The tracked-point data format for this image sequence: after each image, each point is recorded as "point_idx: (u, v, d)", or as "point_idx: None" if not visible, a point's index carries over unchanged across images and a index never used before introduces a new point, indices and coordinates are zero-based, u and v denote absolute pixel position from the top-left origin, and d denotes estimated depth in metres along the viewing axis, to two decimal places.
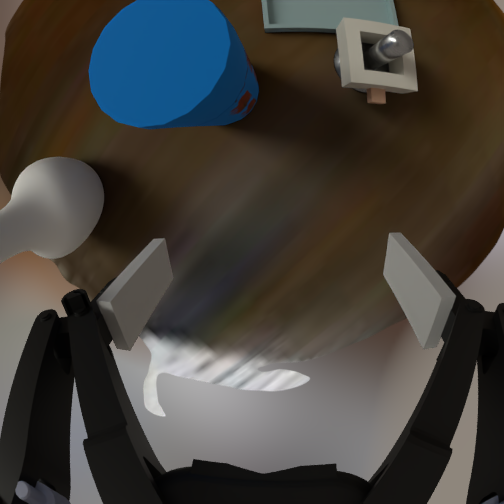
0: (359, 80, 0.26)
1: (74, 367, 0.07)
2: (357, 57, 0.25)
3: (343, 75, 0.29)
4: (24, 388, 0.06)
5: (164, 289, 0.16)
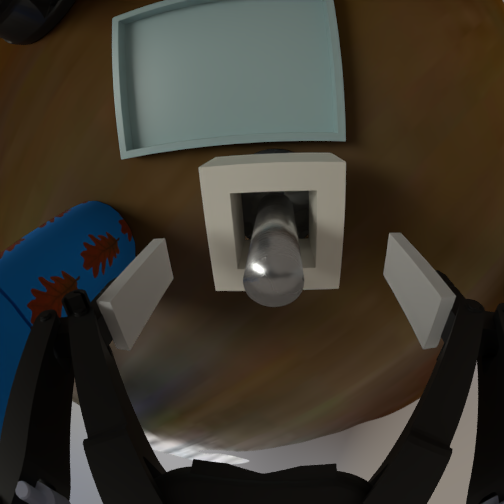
0: (229, 287, 0.20)
1: (74, 367, 0.07)
2: (225, 249, 0.19)
3: None
4: (24, 388, 0.06)
5: (164, 289, 0.16)
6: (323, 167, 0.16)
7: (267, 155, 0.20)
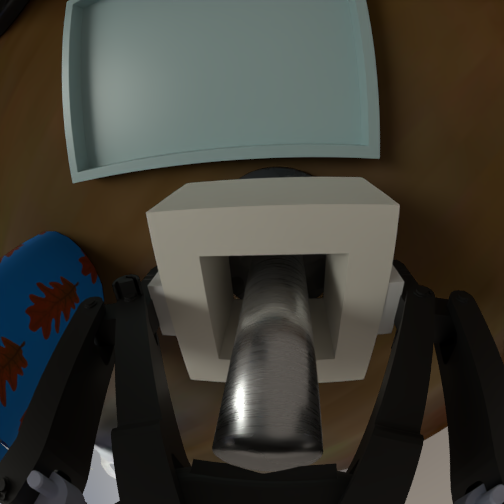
0: (209, 377, 0.13)
1: (116, 353, 0.08)
2: (198, 334, 0.12)
3: None
4: (56, 377, 0.06)
5: None
6: (362, 214, 0.09)
7: (265, 182, 0.13)
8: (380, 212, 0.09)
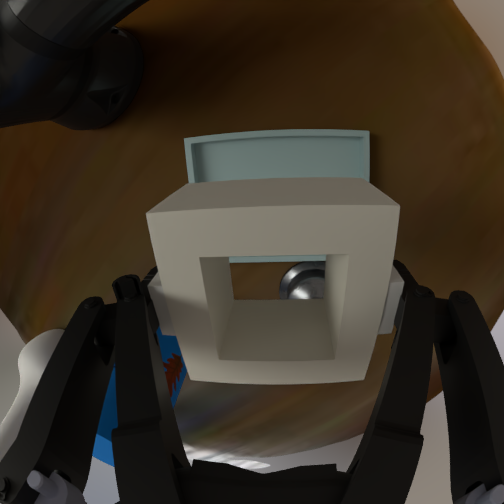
0: (209, 378, 0.13)
1: (116, 353, 0.08)
2: (198, 335, 0.12)
3: None
4: (56, 377, 0.06)
5: None
6: (362, 215, 0.09)
7: (265, 183, 0.13)
8: (380, 213, 0.09)
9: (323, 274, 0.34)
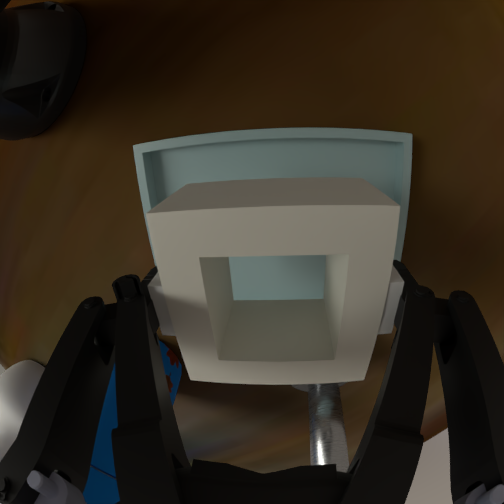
0: (209, 378, 0.13)
1: (116, 353, 0.08)
2: (198, 336, 0.12)
3: None
4: (56, 377, 0.06)
5: None
6: (362, 215, 0.09)
7: (265, 183, 0.13)
8: (380, 213, 0.09)
9: None
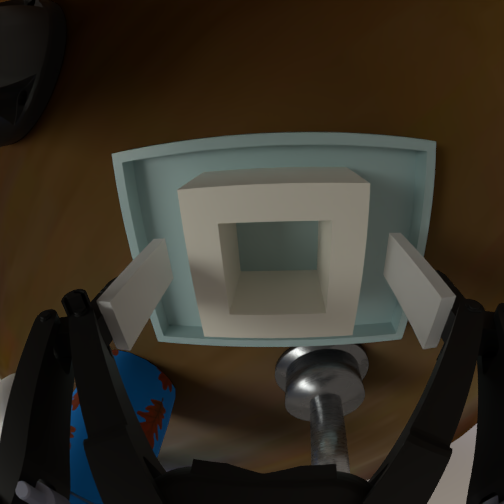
0: (220, 333, 0.16)
1: (74, 367, 0.07)
2: (214, 292, 0.15)
3: None
4: (24, 388, 0.06)
5: (164, 289, 0.16)
6: (341, 190, 0.12)
7: (267, 170, 0.16)
8: (355, 189, 0.12)
9: (340, 359, 0.21)
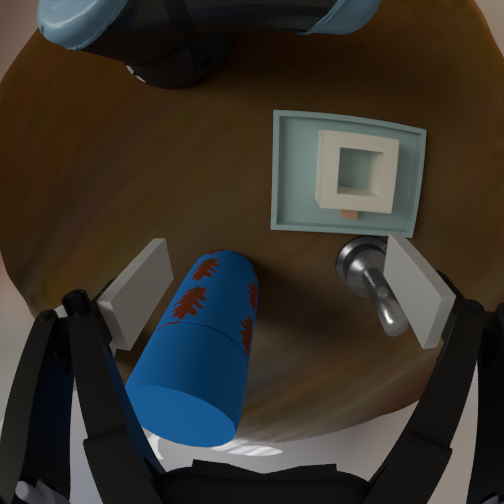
0: (329, 205, 0.31)
1: (74, 367, 0.07)
2: (331, 180, 0.30)
3: (317, 189, 0.34)
4: (24, 388, 0.06)
5: (164, 289, 0.16)
6: (388, 141, 0.27)
7: None
8: (393, 141, 0.27)
9: (378, 248, 0.37)
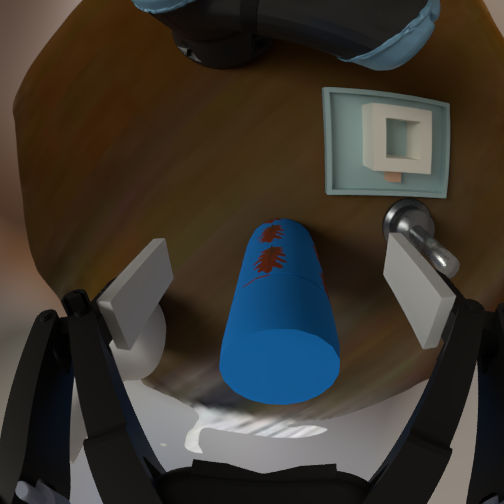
0: (381, 168, 0.33)
1: (74, 367, 0.07)
2: (381, 145, 0.31)
3: (365, 156, 0.35)
4: (24, 388, 0.06)
5: (164, 289, 0.16)
6: (423, 112, 0.28)
7: None
8: (427, 112, 0.28)
9: (419, 208, 0.38)
